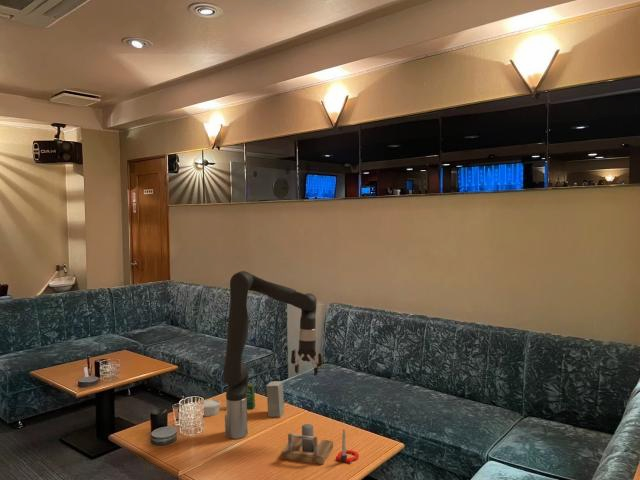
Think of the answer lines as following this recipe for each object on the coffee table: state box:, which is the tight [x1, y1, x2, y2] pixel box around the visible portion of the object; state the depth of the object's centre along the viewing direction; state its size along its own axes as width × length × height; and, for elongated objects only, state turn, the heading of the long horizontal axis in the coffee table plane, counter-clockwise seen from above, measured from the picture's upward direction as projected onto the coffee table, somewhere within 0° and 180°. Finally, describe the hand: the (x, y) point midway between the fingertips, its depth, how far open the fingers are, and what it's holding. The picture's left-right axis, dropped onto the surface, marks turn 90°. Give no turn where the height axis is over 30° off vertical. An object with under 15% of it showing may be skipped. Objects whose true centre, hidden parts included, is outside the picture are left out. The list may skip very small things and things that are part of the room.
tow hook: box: [335, 428, 360, 464], centre depth 188 cm, size 8×13×9 cm
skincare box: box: [265, 380, 285, 418], centre depth 233 cm, size 8×7×16 cm
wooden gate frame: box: [281, 433, 334, 465], centre depth 191 cm, size 18×14×10 cm
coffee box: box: [247, 382, 256, 410], centre depth 242 cm, size 8×3×13 cm, turn 72°
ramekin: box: [203, 398, 221, 417], centre depth 236 cm, size 11×11×5 cm
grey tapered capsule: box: [301, 423, 315, 453], centre depth 192 cm, size 5×5×11 cm
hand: (306, 374), depth 206 cm, fingers open, 8 cm apart
